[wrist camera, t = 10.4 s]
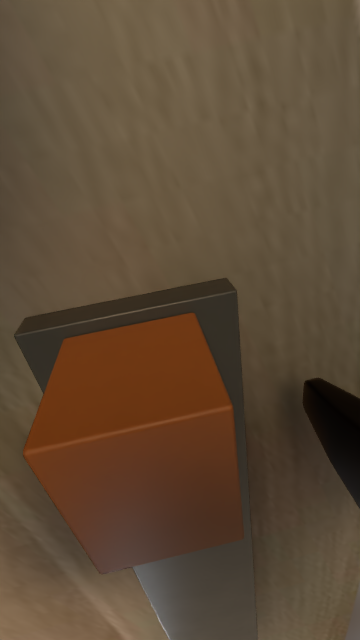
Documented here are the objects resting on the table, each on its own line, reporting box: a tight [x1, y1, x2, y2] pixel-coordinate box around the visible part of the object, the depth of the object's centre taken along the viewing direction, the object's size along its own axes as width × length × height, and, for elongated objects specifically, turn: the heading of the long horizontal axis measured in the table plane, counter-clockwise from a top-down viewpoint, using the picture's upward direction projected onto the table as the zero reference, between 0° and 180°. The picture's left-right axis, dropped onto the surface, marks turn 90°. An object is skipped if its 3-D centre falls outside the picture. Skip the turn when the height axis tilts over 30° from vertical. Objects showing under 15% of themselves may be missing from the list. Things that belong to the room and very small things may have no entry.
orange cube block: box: [23, 313, 244, 574], centre depth 8 cm, size 5×4×4 cm
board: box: [14, 278, 258, 640], centre depth 16 cm, size 30×6×1 cm, turn 9°
